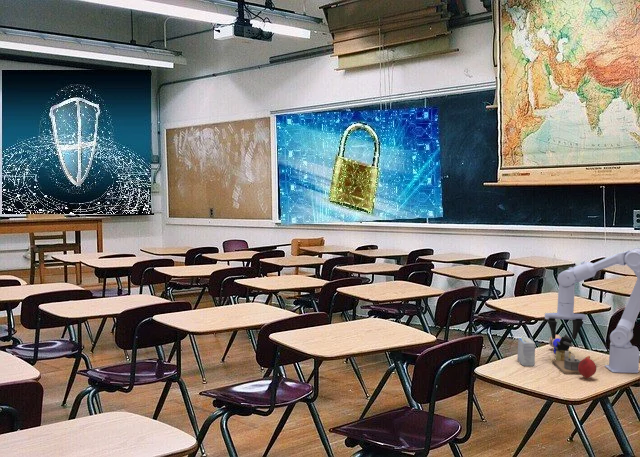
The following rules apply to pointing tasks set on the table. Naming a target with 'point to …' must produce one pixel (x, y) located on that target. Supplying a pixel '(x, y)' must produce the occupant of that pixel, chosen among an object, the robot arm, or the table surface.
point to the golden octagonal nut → (561, 355)
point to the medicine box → (526, 352)
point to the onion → (587, 367)
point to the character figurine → (560, 343)
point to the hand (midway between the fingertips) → (563, 338)
